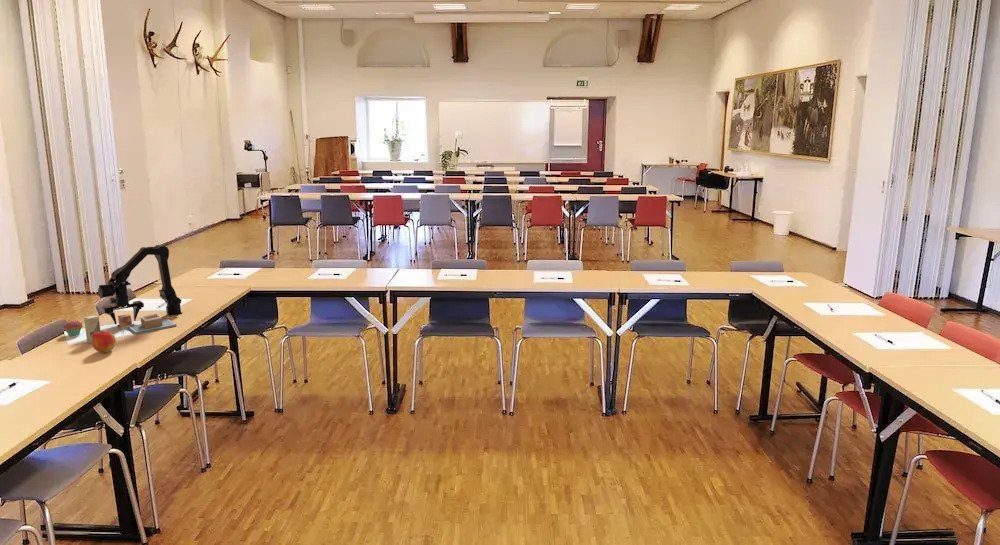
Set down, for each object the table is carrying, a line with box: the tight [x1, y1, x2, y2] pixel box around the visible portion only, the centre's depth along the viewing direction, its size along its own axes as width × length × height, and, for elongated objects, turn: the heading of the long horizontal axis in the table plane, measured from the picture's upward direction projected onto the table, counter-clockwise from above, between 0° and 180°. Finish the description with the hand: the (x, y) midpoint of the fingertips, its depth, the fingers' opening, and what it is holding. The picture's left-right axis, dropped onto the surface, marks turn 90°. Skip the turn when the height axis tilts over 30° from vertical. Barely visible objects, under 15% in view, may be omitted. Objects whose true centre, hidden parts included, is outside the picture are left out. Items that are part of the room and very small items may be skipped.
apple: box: [92, 330, 116, 354], centre depth 311 cm, size 10×10×10 cm
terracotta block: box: [117, 313, 133, 327], centre depth 354 cm, size 5×5×5 cm
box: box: [83, 315, 102, 344], centre depth 325 cm, size 5×4×13 cm
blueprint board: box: [127, 313, 178, 335], centre depth 349 cm, size 20×14×6 cm
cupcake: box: [62, 313, 84, 337], centre depth 336 cm, size 9×8×12 cm
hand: (125, 322), depth 354 cm, fingers open, 9 cm apart
